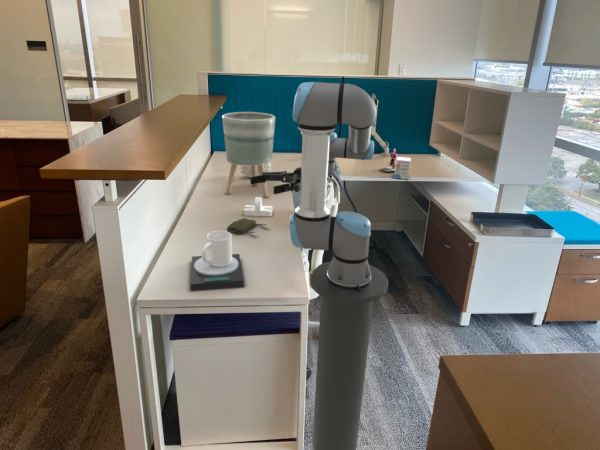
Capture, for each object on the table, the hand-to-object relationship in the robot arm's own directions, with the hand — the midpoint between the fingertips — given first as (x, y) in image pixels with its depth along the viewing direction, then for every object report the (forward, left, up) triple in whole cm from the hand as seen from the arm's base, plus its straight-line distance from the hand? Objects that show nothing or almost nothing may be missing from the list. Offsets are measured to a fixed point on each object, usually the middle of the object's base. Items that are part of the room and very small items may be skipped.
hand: (262, 185), depth 157 cm
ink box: (+99, -99, -28) cm, 143 cm away
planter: (+78, -3, -28) cm, 83 cm away
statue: (+113, -97, -28) cm, 151 cm away
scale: (-11, +17, -28) cm, 35 cm away
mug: (-10, +17, -25) cm, 32 cm away
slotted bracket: (+46, -4, -28) cm, 54 cm away
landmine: (+27, +3, -28) cm, 39 cm away
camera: (+105, -9, -28) cm, 109 cm away
